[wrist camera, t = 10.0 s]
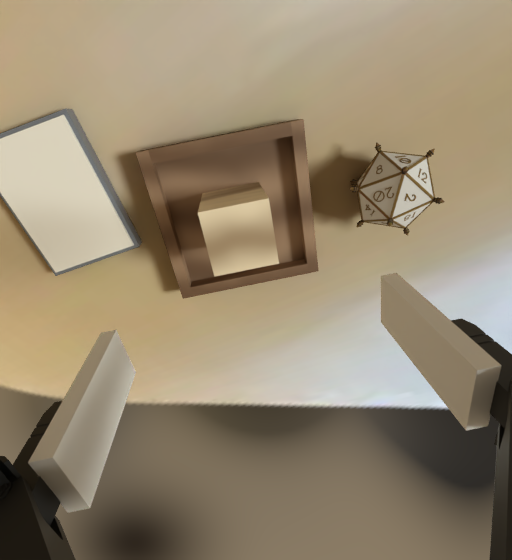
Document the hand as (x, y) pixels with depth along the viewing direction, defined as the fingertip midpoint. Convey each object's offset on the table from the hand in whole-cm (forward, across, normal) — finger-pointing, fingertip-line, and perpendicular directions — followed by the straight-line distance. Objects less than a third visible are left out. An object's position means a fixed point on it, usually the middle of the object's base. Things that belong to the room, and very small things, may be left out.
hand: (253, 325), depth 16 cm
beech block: (+21, 0, 0) cm, 21 cm away
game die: (+23, +16, 0) cm, 28 cm away
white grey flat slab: (+22, -17, +5) cm, 29 cm away
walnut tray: (+22, 0, 0) cm, 22 cm away
